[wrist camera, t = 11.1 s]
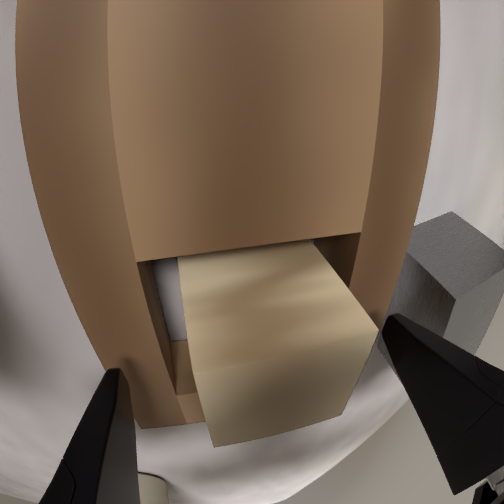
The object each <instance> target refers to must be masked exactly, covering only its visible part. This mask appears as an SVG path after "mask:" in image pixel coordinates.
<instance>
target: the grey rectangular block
mask: <svg viewBox="0 0 504 504" xmlns="http://www.w3.org/2000/svg"><path fill="white" fill-rule="evenodd" d="M503 293H504V250H503V249H502V248H500V247H499V246H498V245H497V244H495V243H494V242H493V241H492V240H490V239H489V238H488V237H486V236H485V235H484V234H482V233H481V232H480V231H478V230H477V229H476V228H474V227H473V226H472V225H470V224H469V223H468V222H466V221H465V220H463V219H462V218H461V217H459V216H458V215H456V214H455V213H453V212H452V211H451V212H448V213H446V214H444V215H441V216H439V217H436V218H434V219H431V220H429V221H426V222H423V223H421V224H418V225H416V226H413V230H412V233H411V237H410V241H409V244H408V248H407V251H406V255H405V258H404V261H403V265H402V268H401V271H400V274H399V277H398V280H397V283H396V286H395V289H394V292H393V295H392V298H391V301H390V304H389V306H388V309H387V312H386V314H385V317H384V320H383V322H382V325H381V329H380V336H379V342H378V348H379V350H380V351H381V353H382V354H383V356H384V357H385V359H386V360H387V362H388V363H389V365H390V366H391V368H392V369H393V371H394V372H395V374H396V375H397V377H398V378H399V376H398V374H397V372H396V370H395V368H394V365H393V363H392V360H391V358H390V355H389V353H388V350H387V348H386V345H385V343H384V340H383V338H382V329H383V326H384V324H385V321H386V319H387V317H388V316H389V315H391V314H395V313H399V314H401V315H403V316H405V317H407V318H409V319H410V320H412V321H414V322H416V323H418V324H419V325H421V326H423V327H425V328H427V329H428V330H430V331H432V332H434V333H435V334H437V335H439V336H441V337H443V338H444V339H446V340H448V341H450V342H451V343H453V344H455V345H457V346H458V347H460V348H462V349H464V350H466V351H467V352H469V353H471V354H473V355H474V354H475V353H476V351H477V349H478V347H479V345H480V343H481V341H482V339H483V337H484V335H485V333H486V331H487V329H488V327H489V325H490V323H491V321H492V318H493V316H494V314H495V312H496V309H497V307H498V305H499V302H500V300H501V298H502V295H503ZM399 380H400V378H399ZM400 381H401V380H400ZM401 383H402V382H401Z"/></svg>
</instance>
